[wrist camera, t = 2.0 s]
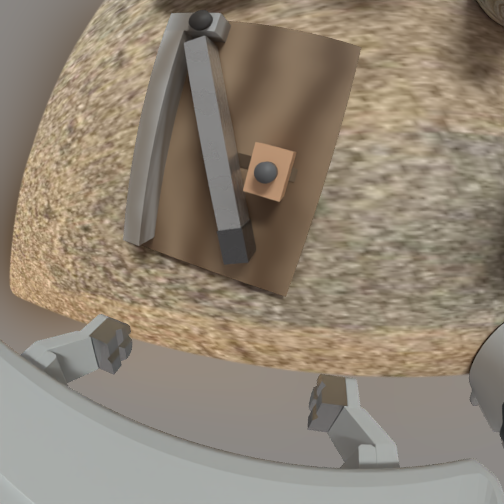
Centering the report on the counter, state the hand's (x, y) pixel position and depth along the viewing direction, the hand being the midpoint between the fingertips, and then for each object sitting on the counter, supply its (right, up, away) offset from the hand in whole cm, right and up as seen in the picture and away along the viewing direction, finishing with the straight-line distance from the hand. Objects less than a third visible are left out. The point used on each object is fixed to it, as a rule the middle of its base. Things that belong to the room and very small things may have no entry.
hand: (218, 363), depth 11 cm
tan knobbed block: (+3, +12, +13) cm, 18 cm away
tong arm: (-1, +14, +13) cm, 19 cm away
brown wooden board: (-1, +14, +15) cm, 21 cm away
